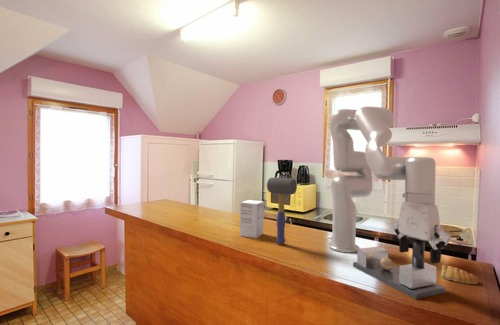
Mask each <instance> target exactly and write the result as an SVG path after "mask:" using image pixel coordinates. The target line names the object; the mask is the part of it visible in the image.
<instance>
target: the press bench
mask: <svg viewBox="0 0 500 325" xmlns="http://www.w3.org/2000/svg"><path fill="white" fill-rule="evenodd" d="M356 253H357V258H356V261H352V267H353V268H355V269H357V270H359V271H361V272H362V273H365V274H366V275H369V276H371V278H374V279H375V280H378V281H380V282H382V283H384V284H386V285H388V286H389V287H392V288H394V289H395V290H397V291H399V292H401V293H402V294H405V295H407V296H409V297H410V298H412V299H414V300H418V299H423V298H427V297H431V296H435V295H436V296H437V295H441V294H446V292H447V291H446V287H445V286H444V285H441V284H439V283H436V284H433V285H428V286H423V287H418V288H413V289H411V288H409V287H407V286H405V285H403V284H401V283H399V273H400V266H396V265H394V266H393V268H392V269H391V270H384V269H383V268H382V267H381V265H380V261H381V259H383V258H389V249H387V248H384V247H383V246H382V247H381V246H371V247H362V248H359V249H358V251H357V252H356Z"/></svg>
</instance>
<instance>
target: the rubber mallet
mask: <svg viewBox="0 0 500 325" xmlns="http://www.w3.org/2000/svg"><path fill="white" fill-rule="evenodd" d="M297 189H298V183H297V180H296V179H295V178H289V177H282V176H281V177H278V176H277V177H270V178H268V180H267V182H266V190H267V191H268V192H269V193H273V194H278V207H277V208H278V210H277V215H276V216H277V217H276V227H277V228H276V230H277V231H276V239H275V241H276V243H277V245H280V246H281V245H284V244H285V243H286V242H285V241H286V238H285V228H286V227H285V226H286V213H285V195H295V194H296V192H297V191H298V190H297Z"/></svg>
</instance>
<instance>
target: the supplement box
mask: <svg viewBox="0 0 500 325" xmlns="http://www.w3.org/2000/svg"><path fill="white" fill-rule="evenodd" d="M239 203H240V206H239V208H240V209H239V236H240V237H246V238H252V239H257V238H259V237H260V236H262V235H263V234H264V220H265V218H264V213H265V209H264V208H265V206H264V205H265V202H264V201H263V200H253V199H252V200H251V199H248V200H244V201H240V202H239Z"/></svg>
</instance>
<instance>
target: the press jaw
mask: <svg viewBox="0 0 500 325" xmlns="http://www.w3.org/2000/svg"><path fill="white" fill-rule="evenodd" d="M425 244H426V241H423V240H419V239H416V238H412V249H411V250H412V253H411V255H412V256H411V257H412V258H411V263H408V264H404V265H403V264H402V265H399V268H400V273H399V283H401V284H403V285H405V286H407V287H409V288H411V289H413V288H418V287H423V286H428V285H433V284H437V270H438V269H437V266H436V265H434V264H431V263H427V262H425V249H426V248H425Z"/></svg>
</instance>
